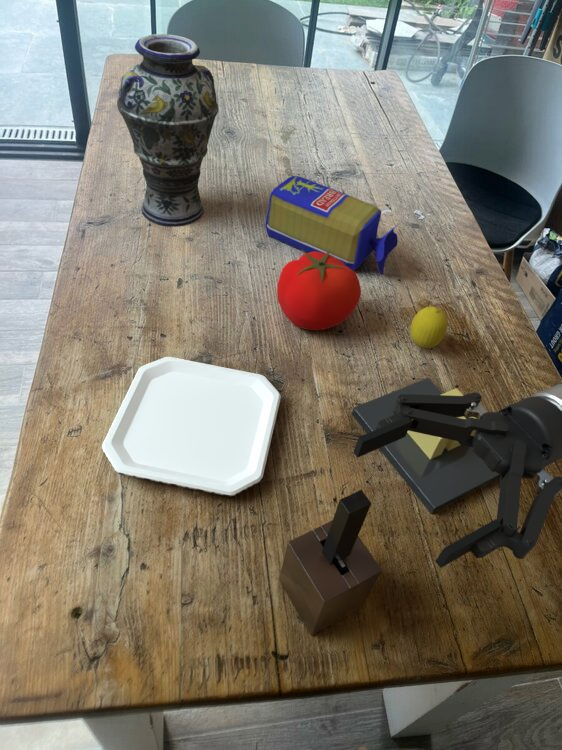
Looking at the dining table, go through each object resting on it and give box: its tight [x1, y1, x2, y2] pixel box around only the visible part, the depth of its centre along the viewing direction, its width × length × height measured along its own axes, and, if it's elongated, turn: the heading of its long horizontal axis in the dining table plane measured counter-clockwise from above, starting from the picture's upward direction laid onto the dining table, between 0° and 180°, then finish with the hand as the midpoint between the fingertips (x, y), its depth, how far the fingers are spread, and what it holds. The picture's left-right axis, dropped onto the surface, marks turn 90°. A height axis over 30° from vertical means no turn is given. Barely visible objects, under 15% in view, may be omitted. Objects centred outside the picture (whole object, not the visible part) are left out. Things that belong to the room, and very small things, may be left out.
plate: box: [101, 356, 282, 497], centre depth 78 cm, size 21×21×2 cm
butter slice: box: [407, 419, 449, 459], centre depth 78 cm, size 6×2×4 cm, turn 30°
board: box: [351, 377, 500, 515], centre depth 81 cm, size 18×14×2 cm
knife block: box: [278, 519, 383, 637], centre depth 62 cm, size 7×7×9 cm
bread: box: [264, 175, 400, 275], centre depth 108 cm, size 10×25×10 cm, turn 59°
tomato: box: [276, 249, 362, 331], centre depth 93 cm, size 12×13×12 cm
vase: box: [116, 33, 219, 227], centre depth 104 cm, size 17×17×30 cm
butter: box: [442, 388, 477, 451], centre depth 80 cm, size 6×5×4 cm
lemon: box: [409, 306, 448, 349], centre depth 92 cm, size 6×6×8 cm
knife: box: [322, 489, 372, 575], centre depth 58 cm, size 3×2×20 cm
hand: (396, 499), depth 57 cm, fingers open, 13 cm apart
